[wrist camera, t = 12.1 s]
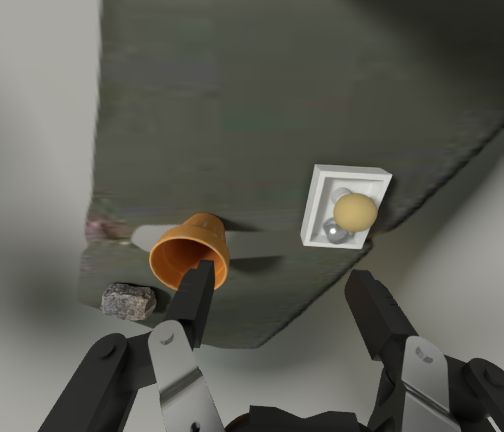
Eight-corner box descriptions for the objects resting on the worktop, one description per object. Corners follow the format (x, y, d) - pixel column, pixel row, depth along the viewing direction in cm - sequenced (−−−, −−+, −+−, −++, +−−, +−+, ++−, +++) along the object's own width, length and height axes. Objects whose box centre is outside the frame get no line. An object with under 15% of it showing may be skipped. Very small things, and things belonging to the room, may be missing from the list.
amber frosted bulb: (363, 185, 37) (394, 210, 29) (346, 213, 40) (369, 243, 32) (332, 175, 36) (354, 198, 28) (317, 204, 40) (333, 233, 31)
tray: (313, 162, 38) (320, 170, 33) (376, 165, 38) (392, 175, 33) (299, 230, 46) (303, 245, 41) (350, 233, 46) (361, 249, 41)
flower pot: (167, 235, 48) (139, 276, 37) (189, 190, 42) (162, 223, 31) (219, 259, 52) (207, 303, 40) (246, 220, 45) (241, 260, 34)
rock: (110, 299, 63) (158, 309, 65) (96, 319, 57) (149, 329, 60) (108, 273, 56) (161, 285, 58) (92, 293, 51) (152, 305, 53)
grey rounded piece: (324, 216, 41) (330, 227, 38) (344, 217, 41) (351, 228, 38) (320, 232, 43) (325, 244, 40) (339, 233, 43) (345, 245, 40)
